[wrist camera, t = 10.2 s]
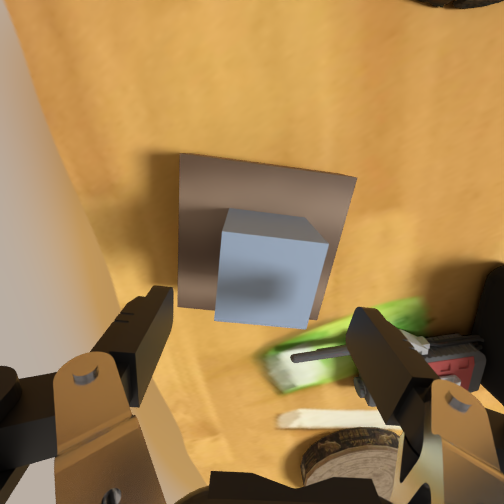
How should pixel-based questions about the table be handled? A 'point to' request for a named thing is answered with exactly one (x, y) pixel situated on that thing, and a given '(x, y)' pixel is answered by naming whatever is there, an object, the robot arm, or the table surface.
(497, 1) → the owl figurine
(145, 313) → the robot arm
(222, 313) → the blue cube
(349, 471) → the wood log slice
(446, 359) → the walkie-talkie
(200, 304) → the brown block
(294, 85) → the table surface
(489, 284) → the film camera
